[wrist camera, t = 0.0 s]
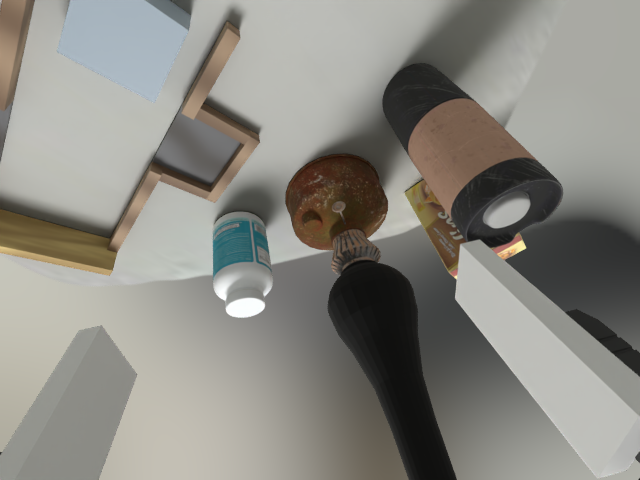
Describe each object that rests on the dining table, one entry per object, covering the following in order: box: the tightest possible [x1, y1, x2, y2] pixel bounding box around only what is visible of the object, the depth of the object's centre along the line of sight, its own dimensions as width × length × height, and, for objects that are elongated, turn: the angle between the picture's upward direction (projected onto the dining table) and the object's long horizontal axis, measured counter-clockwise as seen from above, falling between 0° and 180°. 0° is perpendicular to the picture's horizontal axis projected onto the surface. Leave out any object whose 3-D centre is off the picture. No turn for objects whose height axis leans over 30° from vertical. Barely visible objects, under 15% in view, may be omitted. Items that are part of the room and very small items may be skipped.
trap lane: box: [0, 0, 260, 276], centre depth 31 cm, size 33×28×5 cm
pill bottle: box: [213, 212, 273, 317], centre depth 43 cm, size 8×7×14 cm
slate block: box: [57, 0, 191, 103], centre depth 26 cm, size 7×7×4 cm
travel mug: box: [383, 64, 563, 248], centre depth 31 cm, size 8×8×20 cm
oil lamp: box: [286, 154, 457, 480], centre depth 36 cm, size 14×15×40 cm
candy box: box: [405, 180, 526, 279], centre depth 44 cm, size 9×4×15 cm, turn 130°
